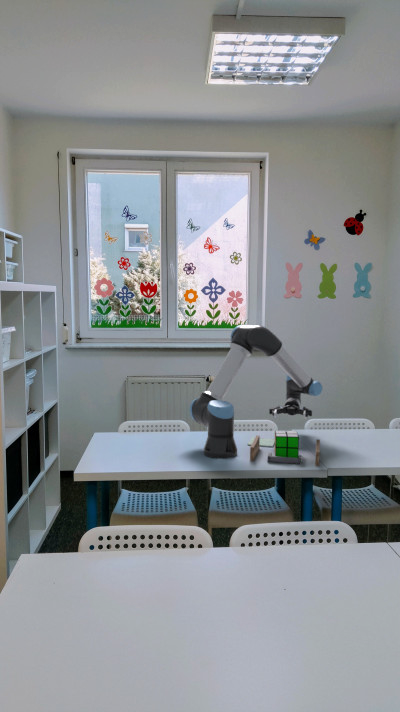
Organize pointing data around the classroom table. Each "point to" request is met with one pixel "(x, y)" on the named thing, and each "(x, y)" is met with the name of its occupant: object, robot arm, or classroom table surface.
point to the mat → (263, 442)
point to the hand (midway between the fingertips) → (289, 416)
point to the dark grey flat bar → (284, 459)
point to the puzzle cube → (286, 444)
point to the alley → (255, 448)
